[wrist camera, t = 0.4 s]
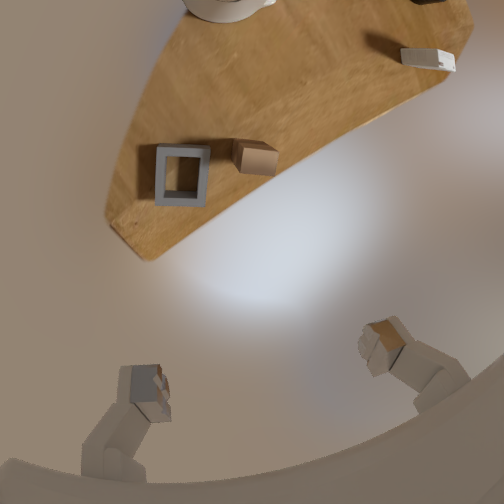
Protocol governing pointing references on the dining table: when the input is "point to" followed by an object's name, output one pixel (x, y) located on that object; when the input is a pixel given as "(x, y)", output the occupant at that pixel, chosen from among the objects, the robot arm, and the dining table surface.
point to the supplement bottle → (427, 1)
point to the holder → (181, 197)
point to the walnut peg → (254, 157)
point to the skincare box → (428, 59)
